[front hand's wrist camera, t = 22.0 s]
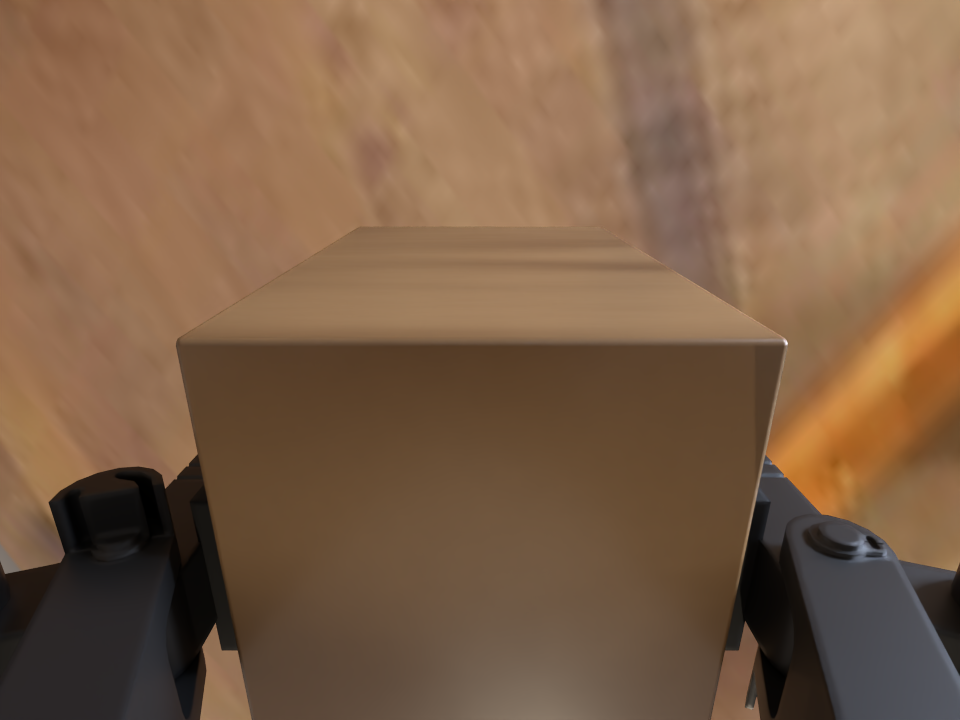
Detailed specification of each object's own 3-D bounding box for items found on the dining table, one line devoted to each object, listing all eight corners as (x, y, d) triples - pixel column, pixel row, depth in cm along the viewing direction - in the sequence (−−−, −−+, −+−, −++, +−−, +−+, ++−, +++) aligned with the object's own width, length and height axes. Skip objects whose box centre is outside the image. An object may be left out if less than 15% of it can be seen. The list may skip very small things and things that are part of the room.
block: (357, 226, 15) (170, 338, 6) (603, 226, 15) (792, 338, 6) (377, 488, 17) (272, 833, 9) (582, 488, 17) (688, 832, 9)
